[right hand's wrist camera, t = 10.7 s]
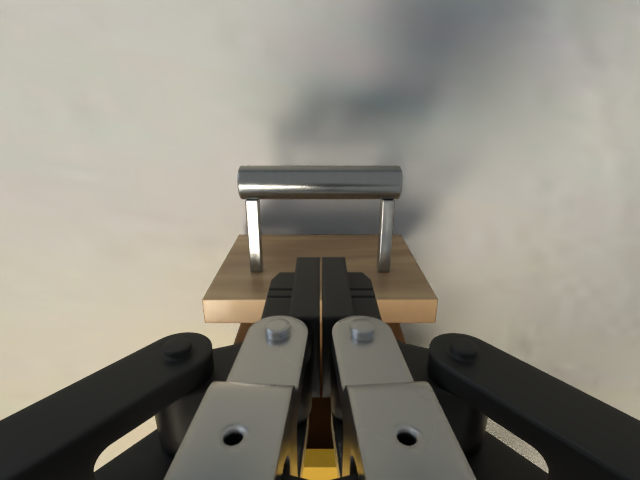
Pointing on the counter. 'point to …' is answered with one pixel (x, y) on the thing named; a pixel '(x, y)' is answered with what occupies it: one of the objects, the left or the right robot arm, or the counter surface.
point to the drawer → (282, 251)
